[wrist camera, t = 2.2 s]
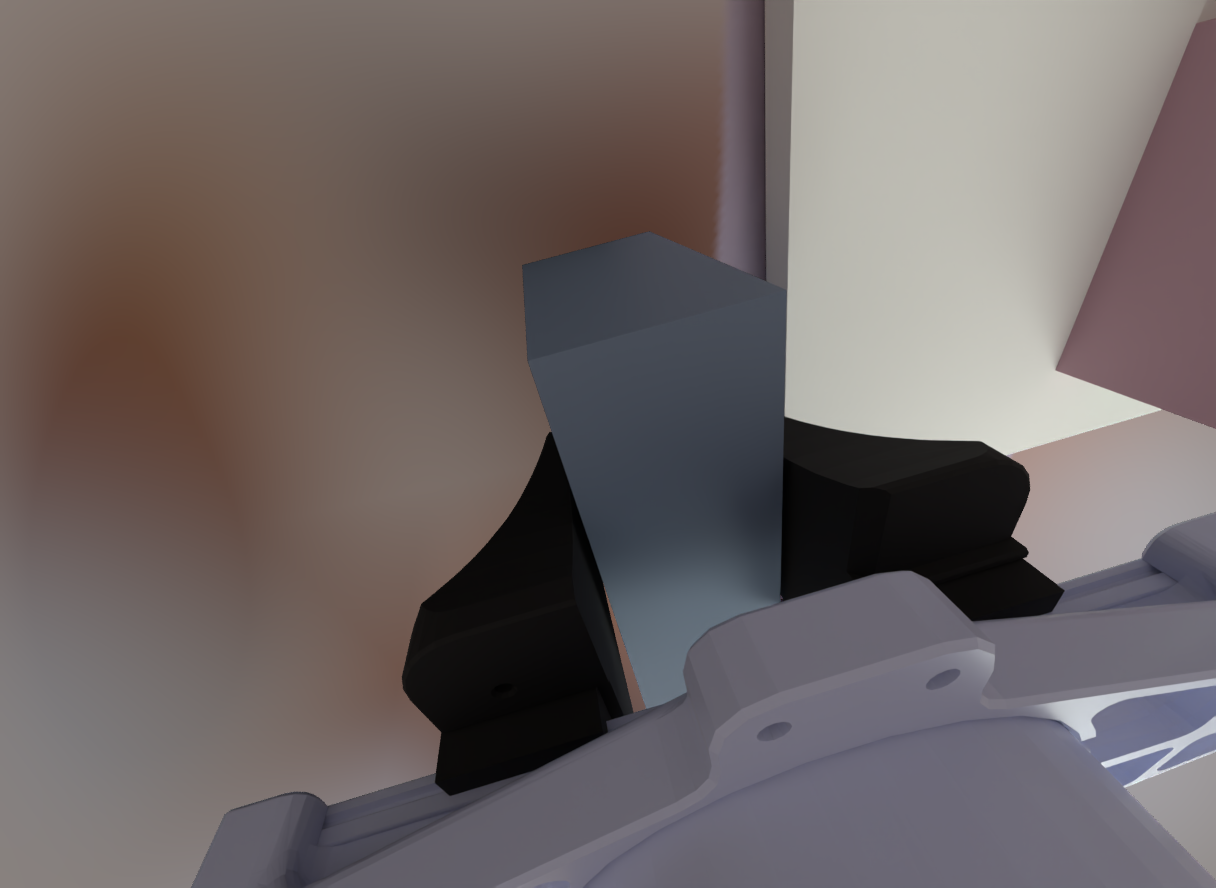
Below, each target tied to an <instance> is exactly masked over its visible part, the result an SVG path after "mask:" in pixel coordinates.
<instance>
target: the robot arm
mask: <svg viewBox="0 0 1216 888" xmlns="http://www.w3.org/2000/svg"><path fill="white" fill-rule="evenodd" d="M1029 492H1030V481H1029V474H1028V472H1027V471H1026V469H1025V468H1024V466H1023V465H1021V464H1019V463H1017V462H1016V461H1014V460H1012V459H1011V458H1009V457H1007V456H1006V455H1004V454H1002V453H1000V452H999V451H997V450H995V449H994V448H992V447H990V446H988V445H987V444H985V443H983V442H981V441H952V440H918V439H906V438H893V437H883V436H874V435H867V434H860V433H854V432H848V431H842V430H836V429H831V428H827V427H823V426H818V425H814V424H810V423H806V422H802V421H798V420H795V419H792V418H789V417H785V416H784V444H783V491H782V539H781V587H780V594H781V596H782V598H783V600H784V601H783V602H780V603H776V604H773V605H770V606H766V607H763V608H760V609H756V610H753V611H750V612H746V613H743V614H740V615H737V616H735V617H733V618H730V619H728V620H726V621H724V622H722V623H720V624H718V625H716V626H713V627H711V628H709V629H708V630H707V631H706V632H705V633H704V634H703V635H702V636H701V637H700V638H699V639H698V640H697V641H696V642H695V643H694V644H693V645H692V646H691V647H690V649H689V651H688V652H687V657H686V661H685V665H684V669H683V675H684V680H685V684H686V689H687V692H686V693H684V694H682V695H680V696H678V697H676V698H674V699H672V700H670V701H669V702H667V703H665V704H661V705H658V706H655V707H651V708H648V709H645V710H642V711H638V712H635V713H633V708H632V704H631V700H630V696H629V692H628V688H627V683H626V679H625V675H624V671H623V667H622V663H621V658H620V654H619V650H618V646H617V642H616V637H615V633H614V629H613V624H612V620H611V616H610V611H609V607H608V603H607V598H606V594H605V590H604V584H603V580H602V577H601V574H600V572H599V569H598V566H597V563H596V560H595V557H594V554H593V551H592V548H591V545H590V542H589V539H588V536H587V533H586V531H585V528H584V525H583V522H582V519H581V516H580V513H579V510H578V507H577V504H576V501H575V498H574V495H573V492H572V490H571V487H570V484H569V481H568V478H567V475H566V472H565V469H564V466H563V463H562V460H561V457H560V454H559V451H558V448H557V446H556V443H555V440H554V437H553V434H552V432H549V434H548V435H547V437H546V440H545V443H544V447H543V449H542V452H541V455H540V457H539V460H538V462H537V465H536V467H535V469H534V472H533V474H532V476H531V478H530V480H529V482H528V484H527V486H526V488H525V490H524V492H523V494H522V496H521V498H520V499H519V501H518V502H517V504H516V506H515V507H514V509H513V510H512V512H511V514H510V515H509V517H508V518H507V519H506V521H505V522H504V523H503V525H502V526H501V527H500V528H499V529H498V531H497V532H496V533H495V534H494V536H493V537H492V538H491V539H490V540H489V542H488V543H487V544H486V545H485V546H484V547H483V548H482V549H481V551H480V552H479V553H478V554H477V555H476V556H475V557H474V558H473V559H472V560H471V561H470V562H469V563H468V564H467V565H466V566H465V567H464V568H463V569H462V570H461V571H460V572H458V573H457V574H456V575H455V576H454V577H453V578H452V579H451V580H449V581H448V582H447V583H446V584H445V585H443V587H441V588H440V589H439V590H438V591H436V592H435V593H434V594H433V595H432V596H431V597H429V598H428V599H427V600H426V601H424V602H423V603H422V604H421V606H420V610H419V613H418V616H417V618H416V622H415V624H414V628H413V632H412V635H411V639H410V644H409V648H408V652H407V657H406V662H405V666H404V670H403V675H402V683H403V690H404V691H405V693H406V694H407V696H408V698H409V699H410V700H411V701H412V703H413V704H414V705H415V706H416V707H417V708H418V709H419V710H420V711H421V712H422V713H423V714H424V715H425V716H426V717H427V718H428V719H429V720H430V721H431V722H432V723H433V724H434V725H435V726H436V727H437V728H438V729H439V730H440V731H441V740H440V747H439V754H438V762H437V769H436V773H435V774H432V775H428V776H425V777H422V778H418V779H415V780H412V781H409V782H405V783H402V784H398V785H395V786H392V787H389V788H385V789H382V790H379V791H375V792H372V793H369V794H366V795H362V796H359V797H356V798H352V799H349V800H346V801H343V802H339V803H336V804H333V805H329V806H327V805H326V804H325V802H323V801H322V800H321V799H320V798H319V797H317V796H316V795H314V794H311V793H308V792H290V793H285V794H281V795H278V796H275V797H271V798H268V799H265V800H261V801H258V802H255V803H251V804H248V805H245V806H241V807H238V808H235V809H232V810H230V811H229V812H227V813H226V814H224V816H223V819H222V821H221V823H220V825H219V827H218V830H217V832H216V834H215V836H214V839H213V841H212V843H211V845H210V847H209V849H208V851H207V854H206V856H205V858H204V860H203V862H202V864H201V867H200V869H199V871H198V873H197V875H196V878H195V880H194V882H193V884H192V886H191V888H1216V880H1215V879H1214V878H1213V877H1212V876H1211V875H1210V874H1209V873H1208V872H1207V871H1206V870H1205V869H1204V868H1203V867H1202V866H1201V865H1200V864H1199V863H1198V861H1197V860H1196V859H1195V858H1194V857H1193V856H1191V854H1189V852H1187V850H1186V849H1185V848H1184V847H1183V846H1182V845H1181V844H1180V843H1179V842H1178V841H1177V840H1176V839H1175V838H1174V837H1173V836H1172V835H1171V834H1170V833H1169V832H1168V831H1167V830H1166V829H1165V828H1164V827H1163V826H1162V825H1161V824H1160V823H1159V822H1158V821H1157V820H1156V819H1155V818H1154V817H1153V816H1152V815H1151V814H1150V813H1149V812H1148V811H1147V810H1146V809H1145V808H1144V807H1143V806H1142V805H1141V804H1140V803H1139V802H1138V801H1137V800H1136V799H1135V798H1134V797H1133V796H1132V795H1131V794H1130V793H1129V792H1128V791H1127V790H1126V789H1125V787H1128V786H1130V785H1133V784H1135V783H1138V782H1140V781H1143V780H1145V779H1148V778H1150V777H1153V776H1156V775H1158V774H1161V773H1163V772H1166V771H1168V770H1171V769H1173V768H1176V767H1178V766H1181V765H1183V764H1186V763H1188V762H1191V761H1193V760H1196V759H1199V758H1201V757H1204V756H1206V755H1209V754H1212V753H1214V752H1216V512H1214V513H1210V514H1207V515H1204V516H1201V517H1197V518H1194V519H1191V520H1187V521H1184V522H1181V523H1177V524H1175V525H1172V526H1170V527H1167V528H1165V529H1164V530H1162V531H1161V532H1160V533H1158V534H1157V535H1156V536H1155V537H1154V538H1153V539H1152V540H1151V541H1150V542H1149V543H1148V545H1147V546H1146V548H1145V550H1144V551H1143V553H1142V558H1141V559H1138V560H1134V561H1131V562H1128V563H1124V564H1121V565H1118V566H1115V567H1111V568H1108V569H1105V570H1101V571H1098V572H1095V573H1092V574H1088V575H1085V576H1082V577H1078V578H1075V579H1072V580H1069V581H1065V582H1062V583H1059V584H1056V583H1054V582H1053V581H1052V580H1050V579H1049V578H1048V577H1046V576H1045V575H1044V574H1042V573H1041V572H1040V571H1039V570H1037V569H1036V568H1035V567H1033V566H1032V565H1031V564H1029V563H1028V562H1026V561H1025V560H1024V559H1023V558H1025V557H1027V555H1028V553H1029V552H1028V550H1027V548H1026V547H1025V546H1023V545H1022V544H1020V543H1019V542H1017V541H1016V540H1015V539H1014V538H1012V537H1011V535H1012V533H1013V531H1014V529H1015V526H1016V524H1017V522H1018V520H1019V517H1020V515H1021V513H1022V511H1023V509H1024V507H1025V504H1026V501H1027V498H1028V495H1029Z"/></svg>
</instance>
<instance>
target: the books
mask: <svg viewBox="0 0 1216 888" xmlns="http://www.w3.org/2000/svg"><path fill="white" fill-rule="evenodd" d="M1055 371H1058V372H1061V373H1064V374H1066V375H1069V376H1072V377H1075V378H1077V379H1080V380H1083V381H1086V382H1088V383H1091V384H1094V385H1097V386H1099V387H1102V388H1105V389H1108V390H1110V391H1113V392H1116V393H1119V394H1121V395H1124V396H1127V397H1130V398H1132V399H1135V400H1138V401H1141V402H1143V403H1146V404H1149V405H1152V406H1154V407H1157V408H1160V409H1163V410H1166V411H1168V412H1171V413H1174V414H1176V415H1179V416H1182V417H1185V418H1188V419H1190V420H1193V421H1196V422H1198V423H1201V424H1204V425H1207V426H1209V427H1213V428H1215V429H1216V18H1215V19H1211V20H1207V21H1203V22H1199V23H1196V25H1195V27H1194V30H1193V32H1192V35H1191V37H1190V40H1189V42H1188V45H1187V47H1186V50H1185V52H1184V54H1183V57H1182V59H1181V62H1180V64H1179V67H1178V69H1177V72H1176V74H1175V77H1174V79H1173V82H1172V84H1171V86H1170V89H1169V91H1168V94H1167V96H1166V99H1165V101H1164V104H1163V106H1162V109H1161V111H1160V114H1159V116H1158V119H1157V121H1156V123H1155V126H1154V128H1153V131H1152V133H1151V136H1150V138H1149V141H1148V143H1147V146H1146V148H1145V151H1144V153H1143V155H1142V158H1141V160H1140V163H1139V165H1138V168H1137V170H1136V173H1135V175H1134V178H1133V180H1132V183H1131V185H1130V187H1129V190H1128V192H1127V195H1126V197H1125V200H1124V202H1123V205H1122V207H1121V210H1120V212H1119V215H1118V217H1117V219H1116V222H1115V224H1114V227H1113V229H1112V232H1111V234H1110V237H1109V239H1108V242H1107V244H1106V247H1105V249H1104V252H1103V254H1102V256H1101V259H1100V261H1099V264H1098V266H1097V269H1096V271H1095V274H1094V276H1093V279H1092V281H1091V284H1090V286H1089V288H1088V291H1087V293H1086V296H1085V298H1084V301H1083V303H1082V306H1081V308H1080V311H1079V313H1078V316H1077V318H1076V320H1075V323H1074V325H1073V328H1072V330H1071V333H1070V335H1069V338H1068V340H1067V343H1066V345H1065V348H1064V350H1063V353H1062V355H1061V357H1060V360H1059V362H1058V365H1057V367H1056V370H1055Z"/></svg>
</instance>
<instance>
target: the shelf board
mask: <svg viewBox="0 0 1216 888" xmlns="http://www.w3.org/2000/svg"><path fill="white" fill-rule="evenodd" d="M1215 18H1216V0H765V140H766V281H767V282H769V283H771V284H774V285H776V286H778V287H781V288H783V289H785V290H787V301H786V348H785V396H784V416H785V417H789V418H792V419H795V420H798V421H802V422H806V423H810V424H814V425H818V426H823V427H827V428H831V429H836V430H842V431H848V432H854V433H860V434H867V435H874V436H883V437H893V438H906V439H918V440H952V441H981V442H983V443H985V444H987V445H988V446H990V447H992V448H994V449H995V450H997V451H999V452H1000V453H1002V454H1004V455H1009V454H1012V453H1016V452H1019V451H1022V450H1026V449H1029V448H1032V447H1036V446H1040V445H1043V444H1046V443H1050V442H1053V441H1057V440H1060V439H1063V438H1067V437H1071V436H1074V435H1077V434H1080V433H1084V432H1088V431H1091V430H1094V429H1098V428H1101V427H1104V426H1108V425H1111V424H1115V423H1118V422H1122V421H1125V420H1129V419H1132V418H1136V417H1139V416H1142V415H1146V414H1149V413H1153V412H1156V411H1159V410H1162V409H1160V408H1157V407H1154V406H1152V405H1149V404H1146V403H1143V402H1141V401H1138V400H1135V399H1132V398H1130V397H1127V396H1124V395H1121V394H1119V393H1116V392H1113V391H1110V390H1108V389H1105V388H1102V387H1099V386H1097V385H1094V384H1091V383H1088V382H1086V381H1083V380H1080V379H1077V378H1075V377H1072V376H1069V375H1066V374H1064V373H1061V372H1058V371H1055V370H1056V367H1057V365H1058V362H1059V360H1060V357H1061V355H1062V353H1063V350H1064V348H1065V345H1066V343H1067V340H1068V338H1069V335H1070V333H1071V330H1072V328H1073V325H1074V323H1075V320H1076V318H1077V316H1078V313H1079V311H1080V308H1081V306H1082V303H1083V301H1084V298H1085V296H1086V293H1087V291H1088V288H1089V286H1090V284H1091V281H1092V279H1093V276H1094V274H1095V271H1096V269H1097V266H1098V264H1099V261H1100V259H1101V256H1102V254H1103V252H1104V249H1105V247H1106V244H1107V242H1108V239H1109V237H1110V234H1111V232H1112V229H1113V227H1114V224H1115V222H1116V219H1117V217H1118V215H1119V212H1120V210H1121V207H1122V205H1123V202H1124V200H1125V197H1126V195H1127V192H1128V190H1129V187H1130V185H1131V183H1132V180H1133V178H1134V175H1135V173H1136V170H1137V168H1138V165H1139V163H1140V160H1141V158H1142V155H1143V153H1144V151H1145V148H1146V146H1147V143H1148V141H1149V138H1150V136H1151V133H1152V131H1153V128H1154V126H1155V123H1156V121H1157V119H1158V116H1159V114H1160V111H1161V109H1162V106H1163V104H1164V101H1165V99H1166V96H1167V94H1168V91H1169V89H1170V86H1171V84H1172V82H1173V79H1174V77H1175V74H1176V72H1177V69H1178V67H1179V64H1180V62H1181V59H1182V57H1183V54H1184V52H1185V50H1186V47H1187V45H1188V42H1189V40H1190V37H1191V35H1192V32H1193V30H1194V27H1195V25H1196V23H1199V22H1203V21H1207V20H1211V19H1215Z"/></svg>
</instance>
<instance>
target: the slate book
mask: <svg viewBox="0 0 1216 888" xmlns="http://www.w3.org/2000/svg"><path fill="white" fill-rule="evenodd" d="M522 269H523V286H524V303H525V304H524V305H525V322H526V340H527V359H528V363H529V366H530V369H531V372H532V375H533V378H534V381H535V384H536V387H537V390H538V393H539V395H540V398H541V401H542V405H543V407H544V410H545V413H546V416H547V419H548V422H549V425H550V428H551V431H552V434H553V437H554V440H555V443H556V446H557V448H558V451H559V454H560V457H561V460H562V463H563V466H564V469H565V472H566V475H567V478H568V481H569V484H570V487H571V490H572V492H573V495H574V498H575V501H576V504H577V507H578V510H579V513H580V516H581V519H582V522H583V525H584V528H585V531H586V533H587V536H588V539H589V542H590V545H591V548H592V551H593V554H594V557H595V560H596V563H597V566H598V569H599V572H600V574H601V577H602V580H603V583H604V586H605V589H606V592H607V595H608V598H609V601H610V603H611V607H612V609H613V613H614V616H615V618H616V621H617V624H618V627H619V630H620V633H621V636H622V639H623V642H624V645H625V647H626V651H627V654H628V656H629V659H630V662H631V665H632V668H633V671H634V674H635V677H636V680H637V683H638V686H639V689H640V691H641V695H642V698H643V700H644V703H645V706H646V709H648V708H651V707H655V706H658V705H661V704H665V703H667V702H669V701H670V700H672V699H674V698H676V697H678V696H680V695H682V694H684V693H686V692H687V689H686V684H685V680H684V675H683V669H684V665H685V661H686V657H687V652H688V651H689V649H690V647H691V646H692V645H693V644H694V643H695V642H696V641H697V640H698V639H699V638H700V637H701V636H702V635H703V634H704V633H705V632H706V631H707V630H708V629H709V628H711V627H713V626H716V625H718V624H720V623H722V622H724V621H726V620H728V619H730V618H733V617H735V616H737V615H740V614H743V613H746V612H750V611H753V610H756V609H760V608H763V607H766V606H770V605H773V604H776V603H780V587H781V539H782V491H783V444H784V396H785V348H786V301H787V290H785V289H783V288H781V287H778V286H776V285H774V284H771V283H769V282H767V281H764V280H762V279H760V278H757V277H755V276H753V275H750V274H748V273H746V272H743V271H741V270H739V269H736V268H734V267H732V266H729V265H727V264H725V263H722V262H720V261H717V260H715V259H713V258H710V257H708V256H705V255H703V254H701V253H699V252H696V251H694V250H692V249H689V248H687V247H685V246H682V245H680V244H678V243H675V242H673V241H671V240H668V239H666V238H664V237H661V236H659V235H656V234H654V233H652V232H650V231H649V232H645V233H641V234H637V235H634V236H630V237H626V238H622V239H619V240H615V241H611V242H607V243H604V244H600V245H596V246H592V247H589V248H585V249H581V250H577V251H574V252H570V253H566V254H562V255H559V256H555V257H551V258H548V259H543V260H540V261H536V262H532V263H528V264H525V265H522Z"/></svg>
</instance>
